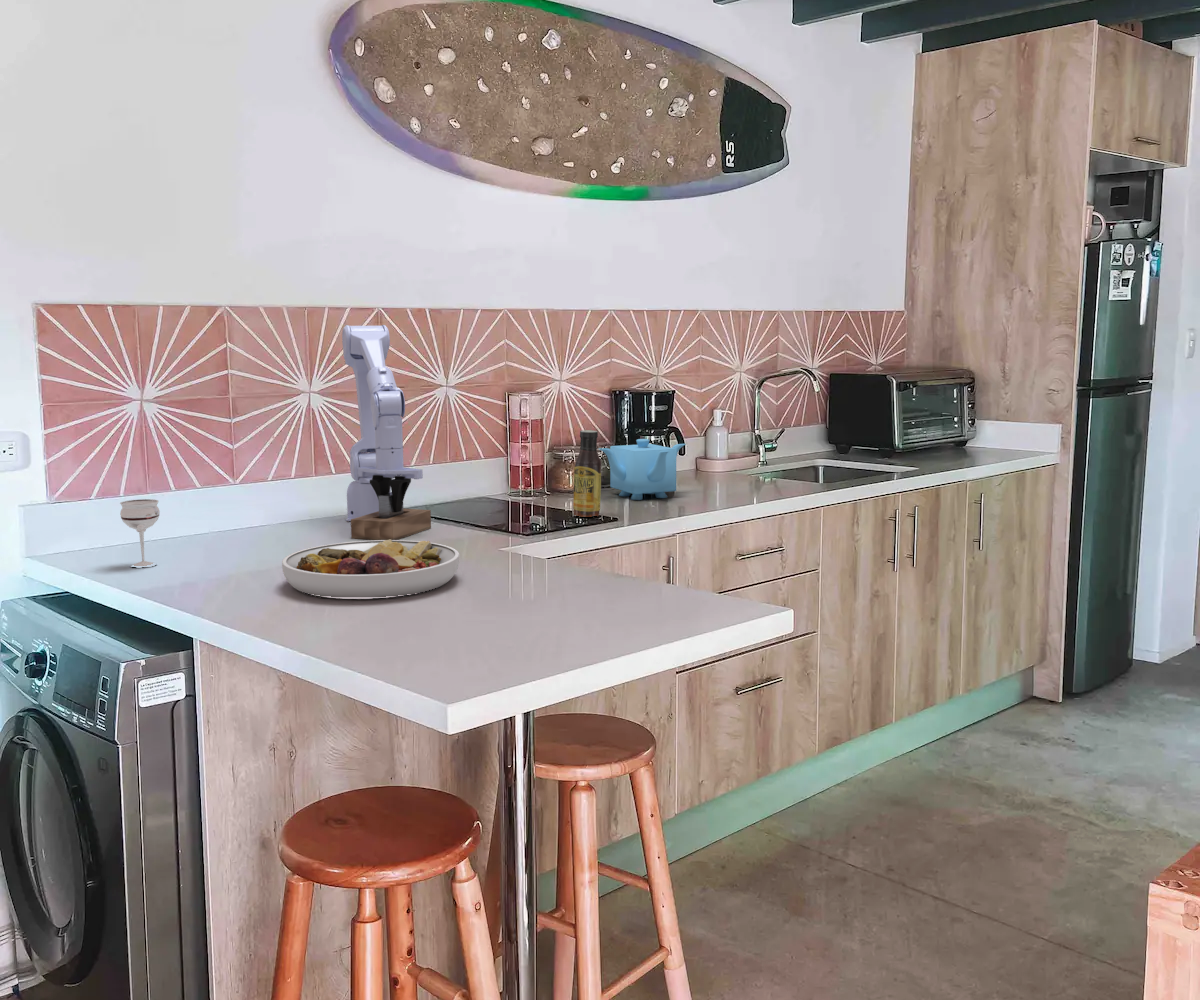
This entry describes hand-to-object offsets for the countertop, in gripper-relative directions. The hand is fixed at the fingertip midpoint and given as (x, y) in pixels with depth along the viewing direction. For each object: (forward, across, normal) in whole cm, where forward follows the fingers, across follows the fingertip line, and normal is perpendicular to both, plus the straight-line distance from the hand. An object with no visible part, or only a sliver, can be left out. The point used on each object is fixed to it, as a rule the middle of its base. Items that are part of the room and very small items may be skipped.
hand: (391, 511), depth 245 cm
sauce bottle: (+5, +32, +33) cm, 46 cm away
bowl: (+5, +21, -42) cm, 47 cm away
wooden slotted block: (+5, 0, 0) cm, 5 cm away
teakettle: (+5, +35, +66) cm, 75 cm away
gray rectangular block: (+4, 0, 0) cm, 4 cm away
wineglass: (+5, -27, -44) cm, 52 cm away
